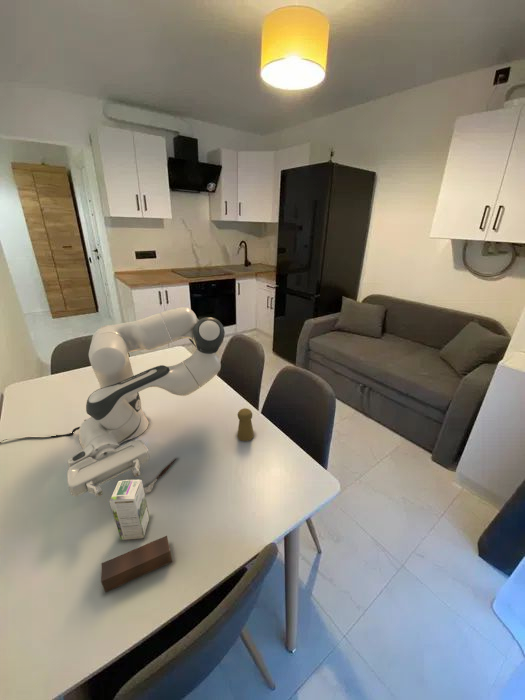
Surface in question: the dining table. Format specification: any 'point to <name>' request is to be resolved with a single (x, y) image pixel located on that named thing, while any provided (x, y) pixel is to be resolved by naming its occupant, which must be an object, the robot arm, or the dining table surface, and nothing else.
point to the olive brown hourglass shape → (245, 425)
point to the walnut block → (135, 563)
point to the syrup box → (130, 509)
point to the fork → (150, 486)
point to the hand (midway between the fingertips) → (118, 483)
